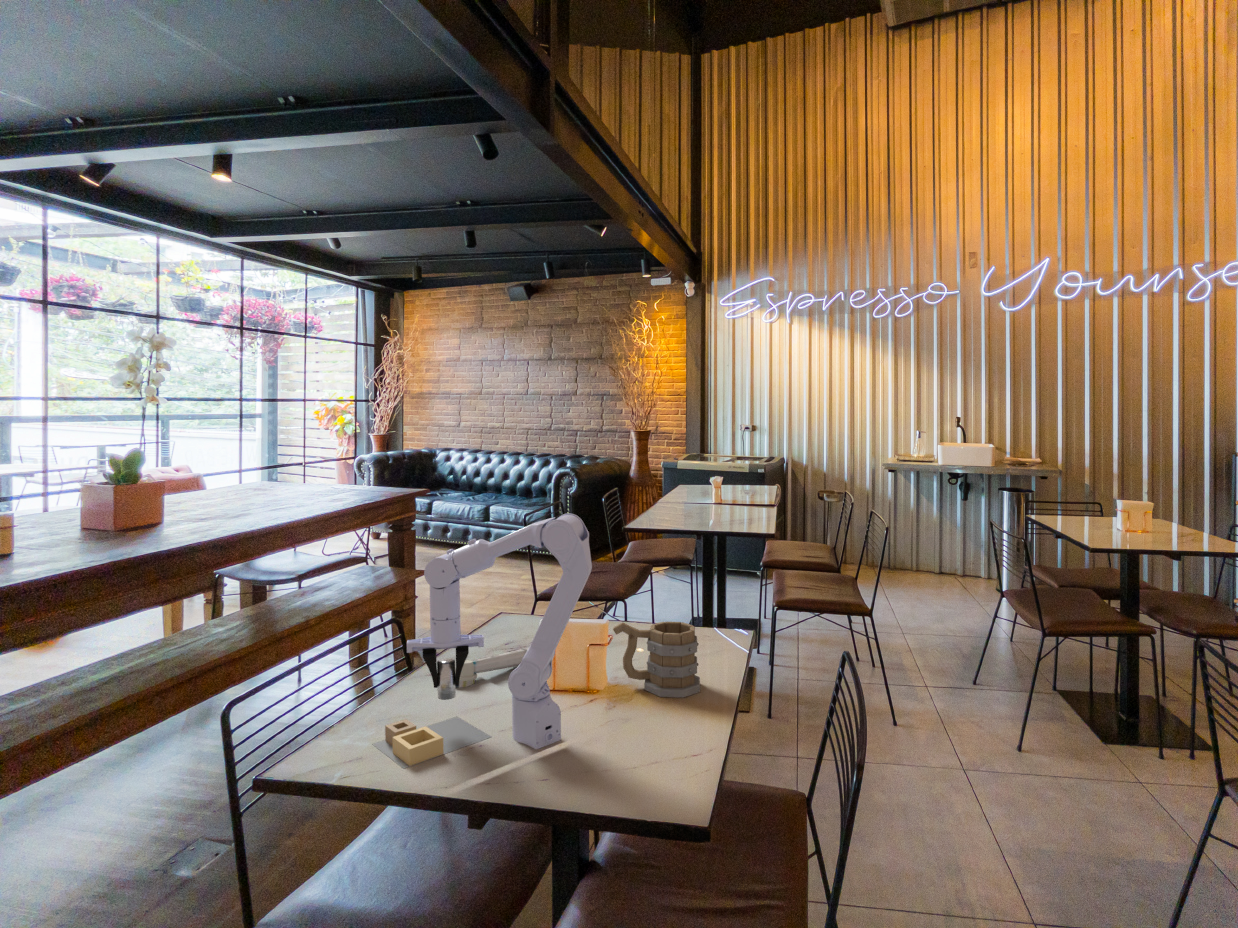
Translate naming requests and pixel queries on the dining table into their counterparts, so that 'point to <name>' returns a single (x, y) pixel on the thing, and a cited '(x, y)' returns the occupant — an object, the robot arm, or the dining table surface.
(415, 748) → the fitting board
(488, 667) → the toothbrush head
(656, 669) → the tankard
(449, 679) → the metal round peg
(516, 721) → the robot arm
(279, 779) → the dining table surface
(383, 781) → the dining table surface
